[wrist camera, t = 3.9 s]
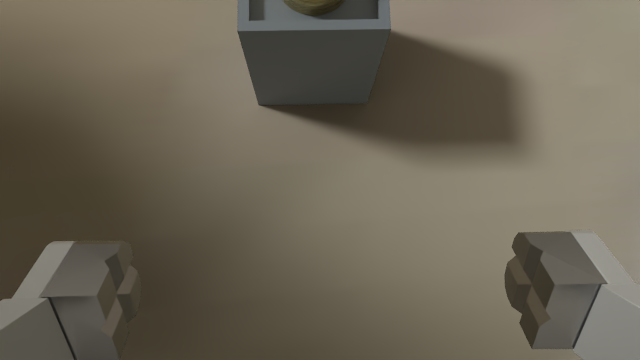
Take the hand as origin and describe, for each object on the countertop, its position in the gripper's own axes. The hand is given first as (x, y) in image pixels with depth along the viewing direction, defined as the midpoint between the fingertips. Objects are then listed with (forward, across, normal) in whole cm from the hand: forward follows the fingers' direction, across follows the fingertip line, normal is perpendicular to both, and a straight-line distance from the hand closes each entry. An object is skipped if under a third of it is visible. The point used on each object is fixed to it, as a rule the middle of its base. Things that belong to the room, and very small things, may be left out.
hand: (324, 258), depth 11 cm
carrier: (+17, 0, +2) cm, 17 cm away
